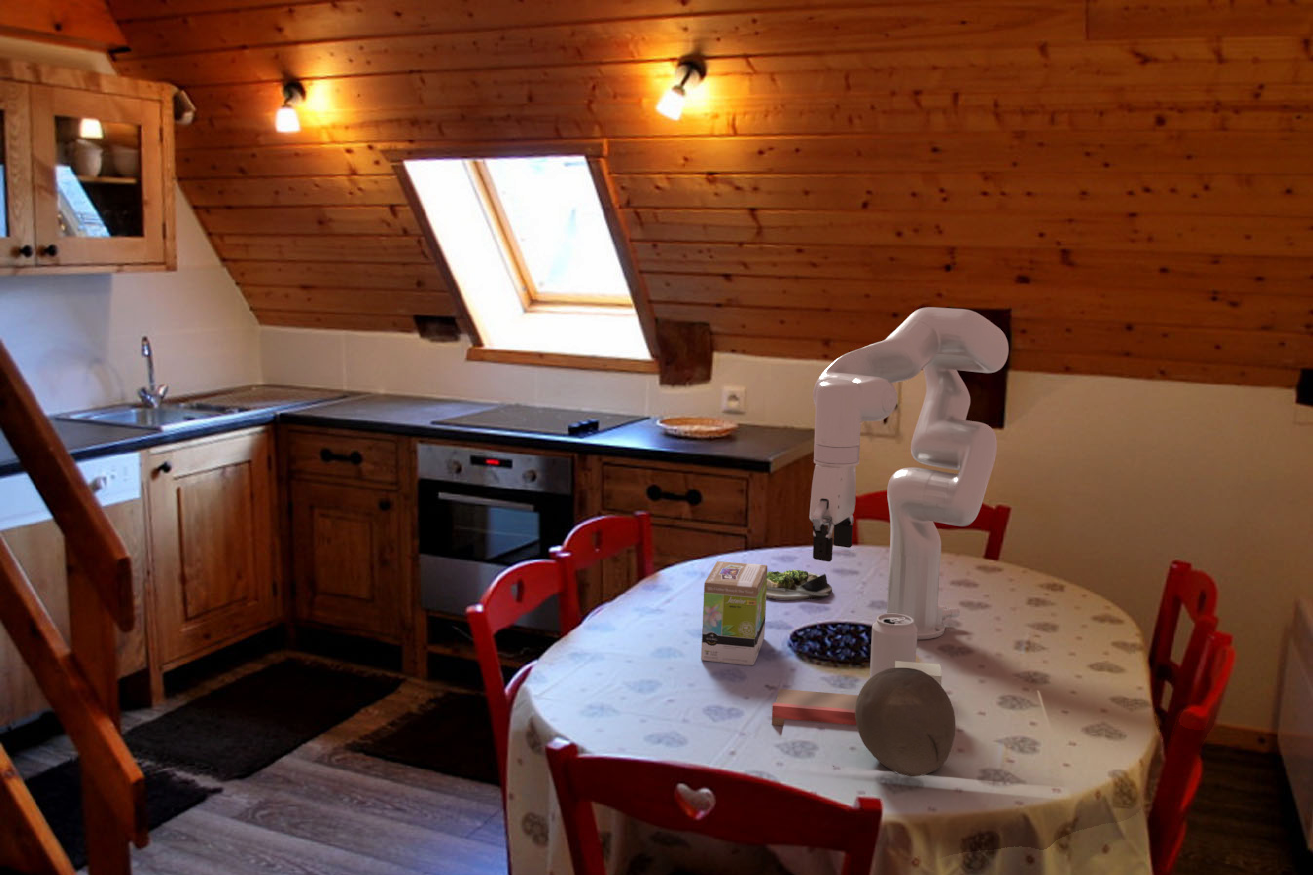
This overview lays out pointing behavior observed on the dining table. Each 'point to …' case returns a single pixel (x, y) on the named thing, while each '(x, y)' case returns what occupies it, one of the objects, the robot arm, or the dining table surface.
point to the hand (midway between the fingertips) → (832, 553)
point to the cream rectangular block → (923, 668)
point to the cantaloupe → (906, 720)
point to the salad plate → (797, 585)
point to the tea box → (734, 613)
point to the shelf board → (814, 707)
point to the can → (892, 641)
